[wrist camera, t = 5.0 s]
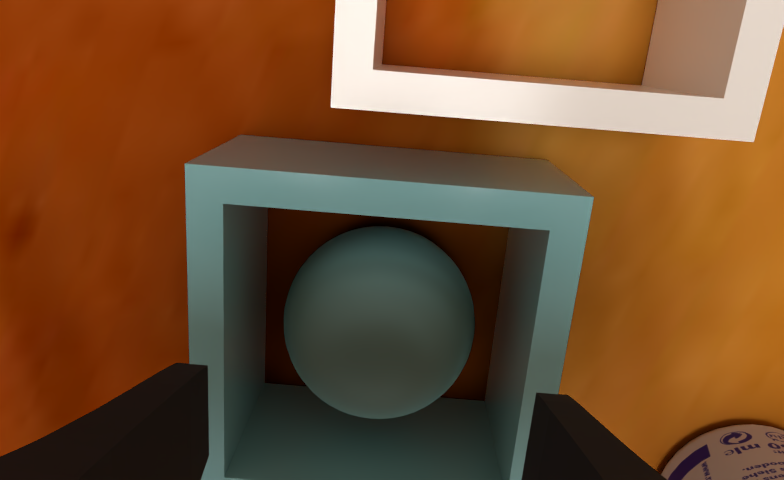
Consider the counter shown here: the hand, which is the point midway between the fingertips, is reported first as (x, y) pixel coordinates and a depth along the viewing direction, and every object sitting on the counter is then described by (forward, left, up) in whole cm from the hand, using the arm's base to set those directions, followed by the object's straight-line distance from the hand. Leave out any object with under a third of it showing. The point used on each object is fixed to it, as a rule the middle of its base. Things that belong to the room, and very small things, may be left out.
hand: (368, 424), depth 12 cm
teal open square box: (0, 0, -7) cm, 7 cm away
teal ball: (0, 0, -5) cm, 5 cm away
